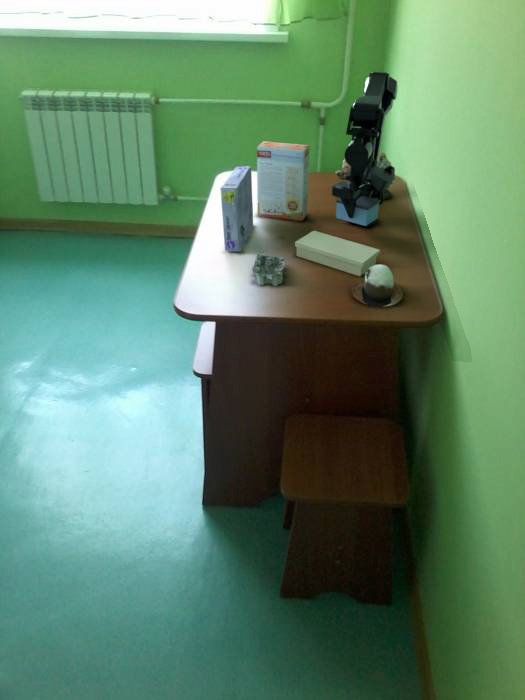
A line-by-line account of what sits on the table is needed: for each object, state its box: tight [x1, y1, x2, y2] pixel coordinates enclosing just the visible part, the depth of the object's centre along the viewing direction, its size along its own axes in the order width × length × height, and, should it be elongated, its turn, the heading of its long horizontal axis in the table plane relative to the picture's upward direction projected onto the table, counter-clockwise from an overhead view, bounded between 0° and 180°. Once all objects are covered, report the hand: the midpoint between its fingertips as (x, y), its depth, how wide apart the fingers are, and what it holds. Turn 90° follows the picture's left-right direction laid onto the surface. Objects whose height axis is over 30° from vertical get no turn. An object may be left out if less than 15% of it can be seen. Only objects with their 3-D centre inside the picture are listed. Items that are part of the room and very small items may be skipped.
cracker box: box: [256, 140, 310, 222], centre depth 180 cm, size 14×6×21 cm, turn 71°
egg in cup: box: [351, 263, 404, 308], centre depth 147 cm, size 12×10×10 cm
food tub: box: [335, 196, 380, 226], centre depth 164 cm, size 7×9×5 cm
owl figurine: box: [335, 151, 394, 201], centre depth 195 cm, size 18×12×17 cm, turn 83°
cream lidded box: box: [294, 230, 381, 277], centre depth 161 cm, size 9×20×4 cm, turn 53°
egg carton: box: [252, 253, 286, 287], centre depth 154 cm, size 11×8×4 cm
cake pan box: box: [220, 165, 254, 253], centre depth 168 cm, size 19×5×18 cm, turn 169°
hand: (357, 213), depth 165 cm, fingers closed on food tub, 6 cm apart
